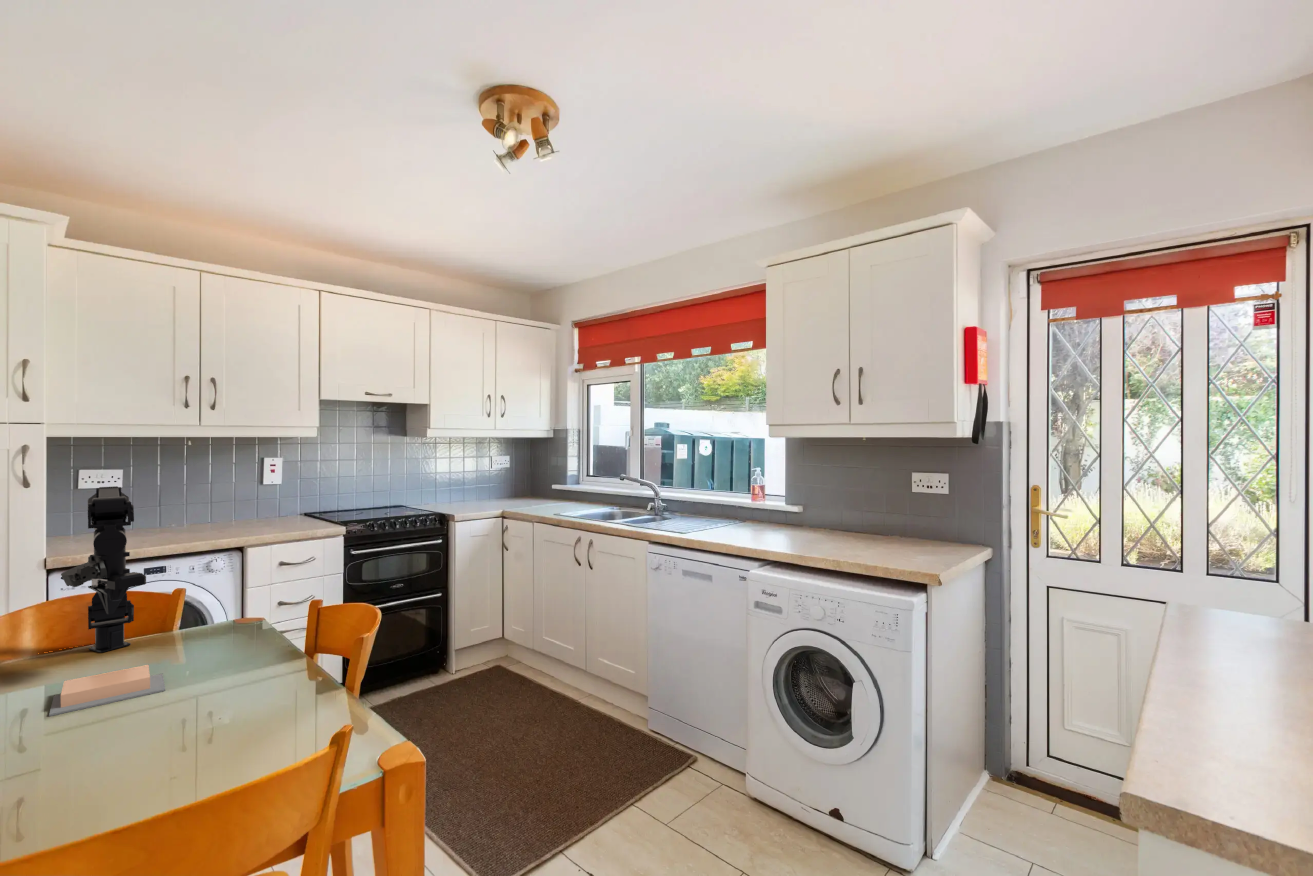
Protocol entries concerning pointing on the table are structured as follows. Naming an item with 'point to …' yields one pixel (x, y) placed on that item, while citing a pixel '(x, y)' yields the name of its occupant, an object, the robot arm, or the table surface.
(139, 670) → the terracotta tile
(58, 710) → the mat
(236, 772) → the table surface
